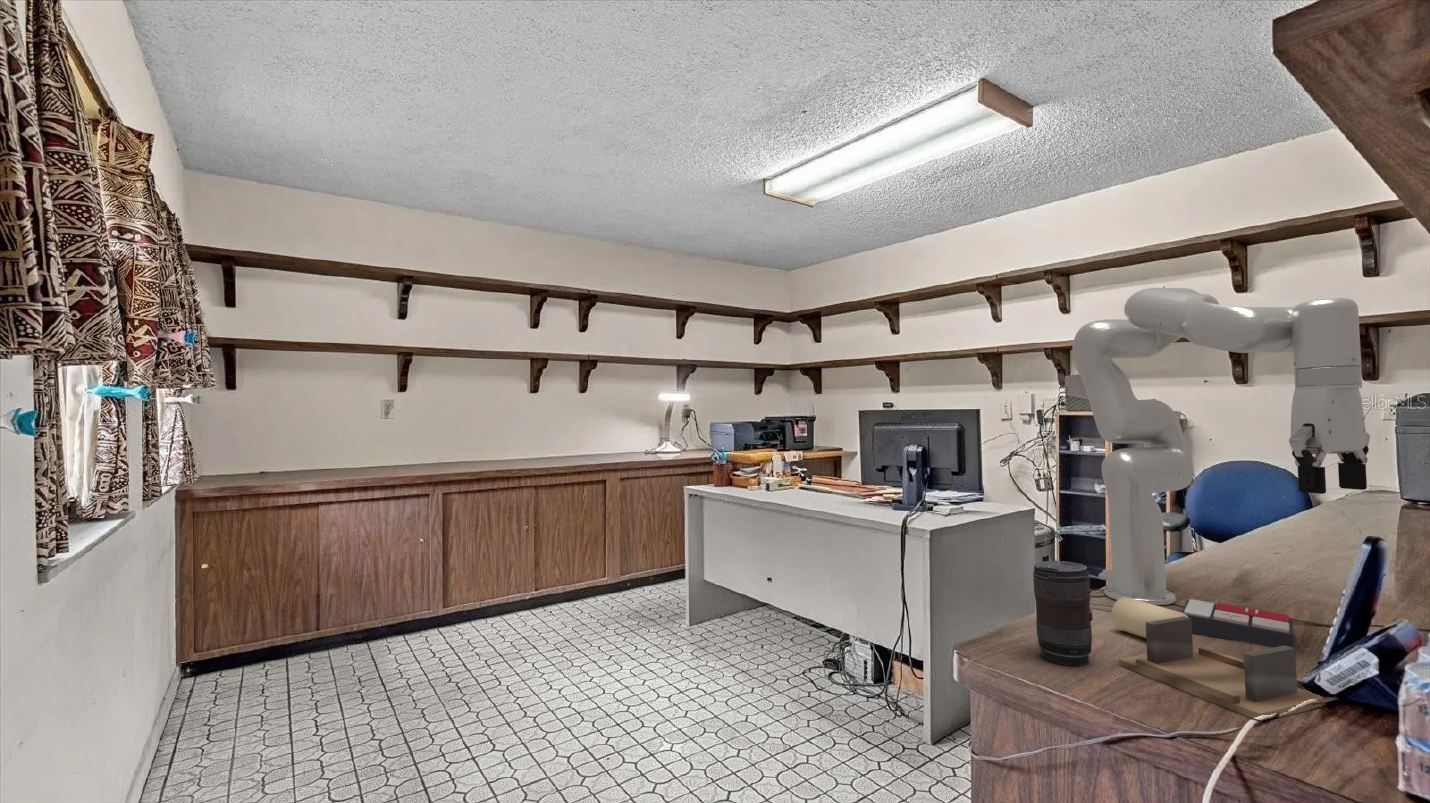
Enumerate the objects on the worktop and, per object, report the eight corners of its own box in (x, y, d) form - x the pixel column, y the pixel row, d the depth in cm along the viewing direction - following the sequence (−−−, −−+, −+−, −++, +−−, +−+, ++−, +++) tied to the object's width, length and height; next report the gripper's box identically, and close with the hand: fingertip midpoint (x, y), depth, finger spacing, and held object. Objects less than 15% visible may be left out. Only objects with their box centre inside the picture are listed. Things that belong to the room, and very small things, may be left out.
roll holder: (1118, 665, 100) (1116, 620, 100) (1184, 653, 104) (1182, 609, 105) (1260, 721, 81) (1257, 665, 81) (1334, 704, 85) (1331, 651, 86)
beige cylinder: (1114, 634, 116) (1109, 601, 115) (1139, 625, 117) (1134, 593, 117) (1168, 653, 106) (1162, 617, 106) (1194, 642, 108) (1188, 608, 108)
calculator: (1293, 630, 104) (1180, 609, 114) (1293, 656, 105) (1180, 633, 114) (1292, 613, 113) (1187, 595, 123) (1292, 637, 113) (1186, 617, 123)
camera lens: (1053, 645, 109) (1049, 557, 110) (1103, 659, 103) (1099, 565, 103) (1026, 656, 105) (1022, 564, 105) (1076, 671, 98) (1072, 573, 99)
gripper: (1333, 381, 105) (1338, 485, 105) (1262, 381, 100) (1267, 491, 99) (1393, 377, 98) (1399, 489, 98) (1320, 378, 93) (1326, 497, 92)
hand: (1332, 490), depth 99 cm, fingers open, 9 cm apart
